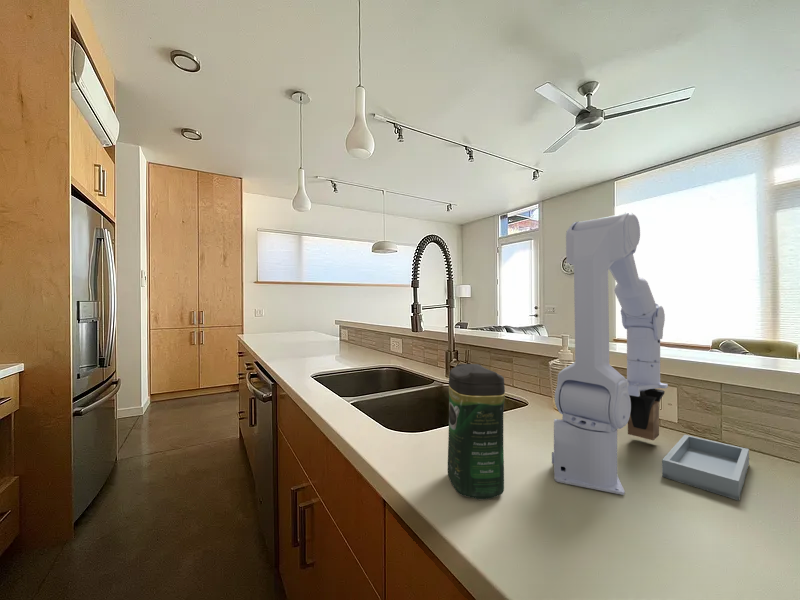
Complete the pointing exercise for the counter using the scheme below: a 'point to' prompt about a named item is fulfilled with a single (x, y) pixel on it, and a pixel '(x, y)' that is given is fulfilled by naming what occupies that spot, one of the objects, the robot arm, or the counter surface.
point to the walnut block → (652, 426)
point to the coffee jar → (476, 431)
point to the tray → (707, 465)
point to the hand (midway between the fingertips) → (643, 425)
